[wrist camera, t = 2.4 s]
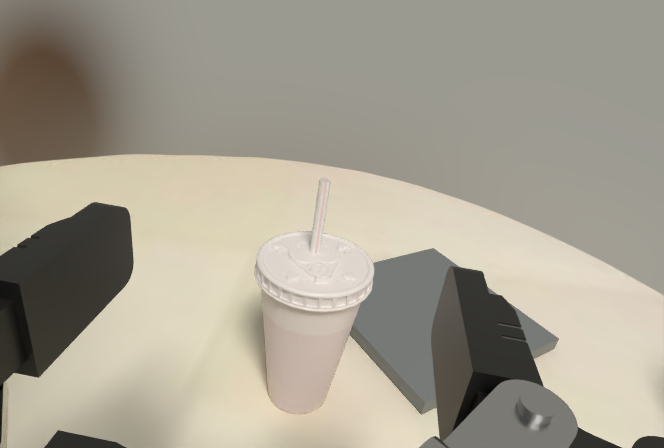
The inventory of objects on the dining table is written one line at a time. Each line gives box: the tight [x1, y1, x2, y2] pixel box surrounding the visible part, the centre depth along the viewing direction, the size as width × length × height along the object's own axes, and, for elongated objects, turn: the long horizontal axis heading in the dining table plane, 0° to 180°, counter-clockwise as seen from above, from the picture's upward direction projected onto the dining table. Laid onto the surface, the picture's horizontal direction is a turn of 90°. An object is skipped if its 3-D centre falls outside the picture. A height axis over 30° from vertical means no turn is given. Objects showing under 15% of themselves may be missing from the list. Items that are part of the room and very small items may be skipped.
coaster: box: [349, 248, 559, 414], centre depth 37 cm, size 14×14×1 cm
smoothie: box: [254, 178, 374, 414], centre depth 26 cm, size 6×6×14 cm
